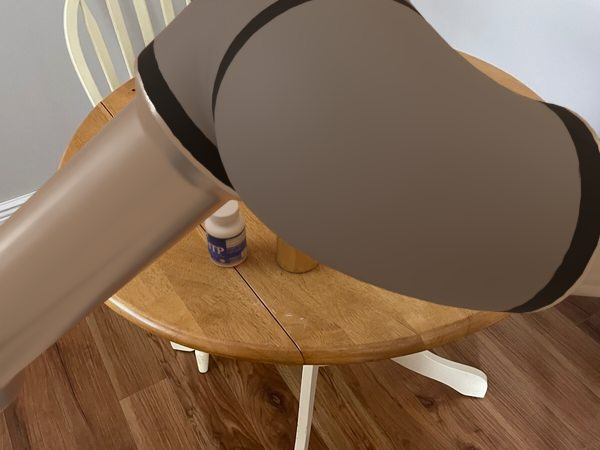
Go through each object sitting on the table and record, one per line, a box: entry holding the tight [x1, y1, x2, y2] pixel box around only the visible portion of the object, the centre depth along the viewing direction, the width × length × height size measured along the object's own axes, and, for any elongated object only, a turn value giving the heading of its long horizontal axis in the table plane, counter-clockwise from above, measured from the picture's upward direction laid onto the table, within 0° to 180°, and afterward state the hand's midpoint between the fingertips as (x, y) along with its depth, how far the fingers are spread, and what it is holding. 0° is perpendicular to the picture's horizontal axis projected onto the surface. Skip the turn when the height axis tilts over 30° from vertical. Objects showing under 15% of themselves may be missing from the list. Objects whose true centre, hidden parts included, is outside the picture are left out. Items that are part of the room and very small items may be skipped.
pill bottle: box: [204, 200, 248, 268], centre depth 77 cm, size 5×5×9 cm
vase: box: [275, 235, 320, 274], centre depth 75 cm, size 6×6×14 cm
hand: (378, 157), depth 63 cm, fingers open, 13 cm apart
